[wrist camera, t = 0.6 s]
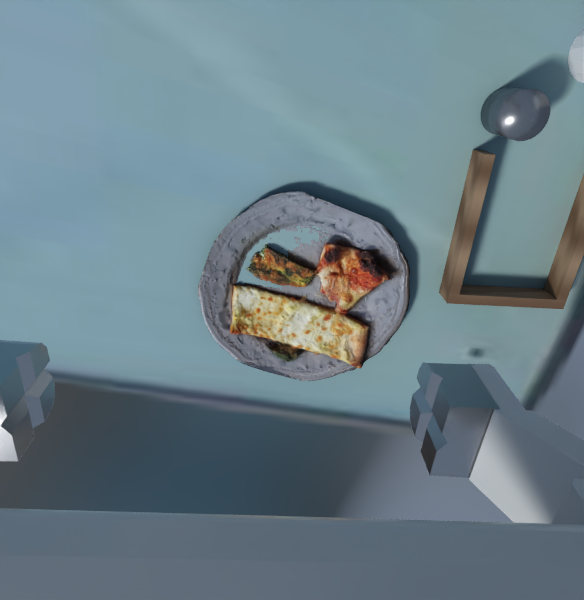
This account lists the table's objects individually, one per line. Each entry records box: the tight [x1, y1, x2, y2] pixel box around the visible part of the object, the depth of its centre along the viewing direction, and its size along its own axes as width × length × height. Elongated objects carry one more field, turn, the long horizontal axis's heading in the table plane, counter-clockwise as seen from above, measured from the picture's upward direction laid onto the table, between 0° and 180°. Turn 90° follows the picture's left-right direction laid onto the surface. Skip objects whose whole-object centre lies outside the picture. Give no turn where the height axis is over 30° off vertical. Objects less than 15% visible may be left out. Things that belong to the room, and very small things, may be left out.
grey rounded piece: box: [481, 87, 550, 141], centre depth 46 cm, size 5×5×5 cm
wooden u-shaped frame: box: [439, 150, 584, 309], centre depth 53 cm, size 17×14×3 cm
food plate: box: [198, 191, 410, 381], centre depth 56 cm, size 25×23×4 cm
